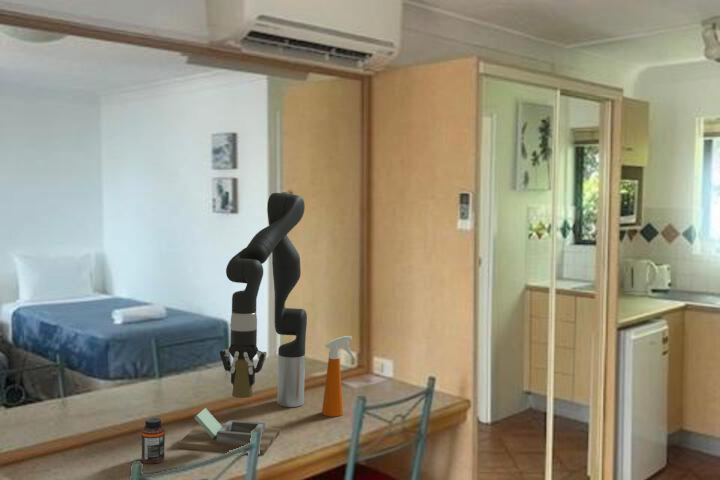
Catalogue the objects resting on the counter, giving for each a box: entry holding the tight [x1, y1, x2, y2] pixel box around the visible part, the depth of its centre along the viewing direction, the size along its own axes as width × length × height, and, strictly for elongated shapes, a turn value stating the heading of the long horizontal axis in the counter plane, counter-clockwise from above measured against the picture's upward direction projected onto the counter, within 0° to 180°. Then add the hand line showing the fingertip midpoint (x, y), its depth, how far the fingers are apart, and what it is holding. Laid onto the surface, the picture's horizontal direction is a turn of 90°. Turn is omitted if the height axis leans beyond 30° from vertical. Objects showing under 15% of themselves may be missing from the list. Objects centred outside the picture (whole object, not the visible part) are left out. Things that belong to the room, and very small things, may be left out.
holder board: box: [177, 419, 281, 456], centre depth 208 cm, size 18×25×4 cm
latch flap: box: [193, 407, 222, 439], centre depth 207 cm, size 7×8×1 cm
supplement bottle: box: [141, 416, 166, 464], centre depth 191 cm, size 6×6×11 cm
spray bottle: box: [321, 335, 357, 418], centre depth 235 cm, size 7×11×26 cm, turn 94°
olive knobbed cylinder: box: [231, 359, 254, 399], centre depth 205 cm, size 6×6×11 cm
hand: (242, 385), depth 205 cm, fingers closed on olive knobbed cylinder, 4 cm apart
